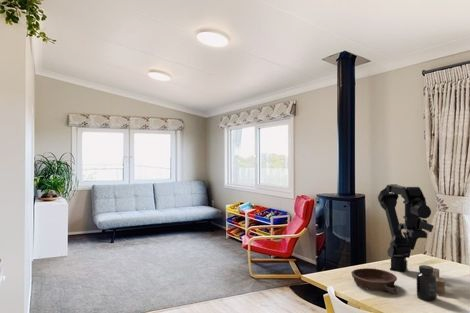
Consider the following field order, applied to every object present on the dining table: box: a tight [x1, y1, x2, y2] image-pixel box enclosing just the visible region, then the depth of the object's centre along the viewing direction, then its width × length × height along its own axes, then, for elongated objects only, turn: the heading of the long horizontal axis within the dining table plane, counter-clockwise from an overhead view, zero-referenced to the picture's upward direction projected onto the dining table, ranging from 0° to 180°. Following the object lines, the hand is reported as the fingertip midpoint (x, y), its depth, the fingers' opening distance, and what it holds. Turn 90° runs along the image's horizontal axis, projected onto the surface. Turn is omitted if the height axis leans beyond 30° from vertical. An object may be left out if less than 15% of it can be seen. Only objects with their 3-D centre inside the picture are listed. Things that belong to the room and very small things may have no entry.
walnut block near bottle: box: [436, 277, 446, 295], centre depth 140 cm, size 5×5×5 cm
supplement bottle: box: [415, 264, 438, 302], centre depth 133 cm, size 7×7×12 cm
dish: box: [351, 267, 398, 293], centre depth 147 cm, size 18×22×5 cm
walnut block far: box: [433, 267, 440, 278], centre depth 153 cm, size 5×5×5 cm
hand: (412, 249), depth 155 cm, fingers closed
